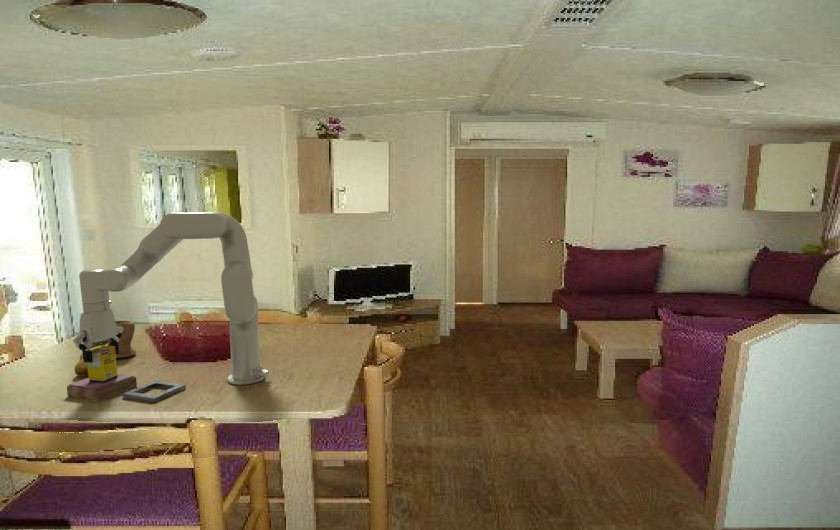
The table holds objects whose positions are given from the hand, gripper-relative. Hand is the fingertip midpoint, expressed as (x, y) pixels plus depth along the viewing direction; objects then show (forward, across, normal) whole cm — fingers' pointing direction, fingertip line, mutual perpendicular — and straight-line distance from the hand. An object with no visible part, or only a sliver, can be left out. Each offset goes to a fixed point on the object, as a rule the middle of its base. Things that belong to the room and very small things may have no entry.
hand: (102, 357), depth 171 cm
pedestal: (+12, 0, -1) cm, 12 cm away
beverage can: (+11, -46, -59) cm, 75 cm away
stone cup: (+12, -32, -32) cm, 46 cm away
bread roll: (+12, -12, -20) cm, 26 cm away
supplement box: (+8, 0, 0) cm, 8 cm away
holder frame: (+12, -4, +17) cm, 21 cm away
